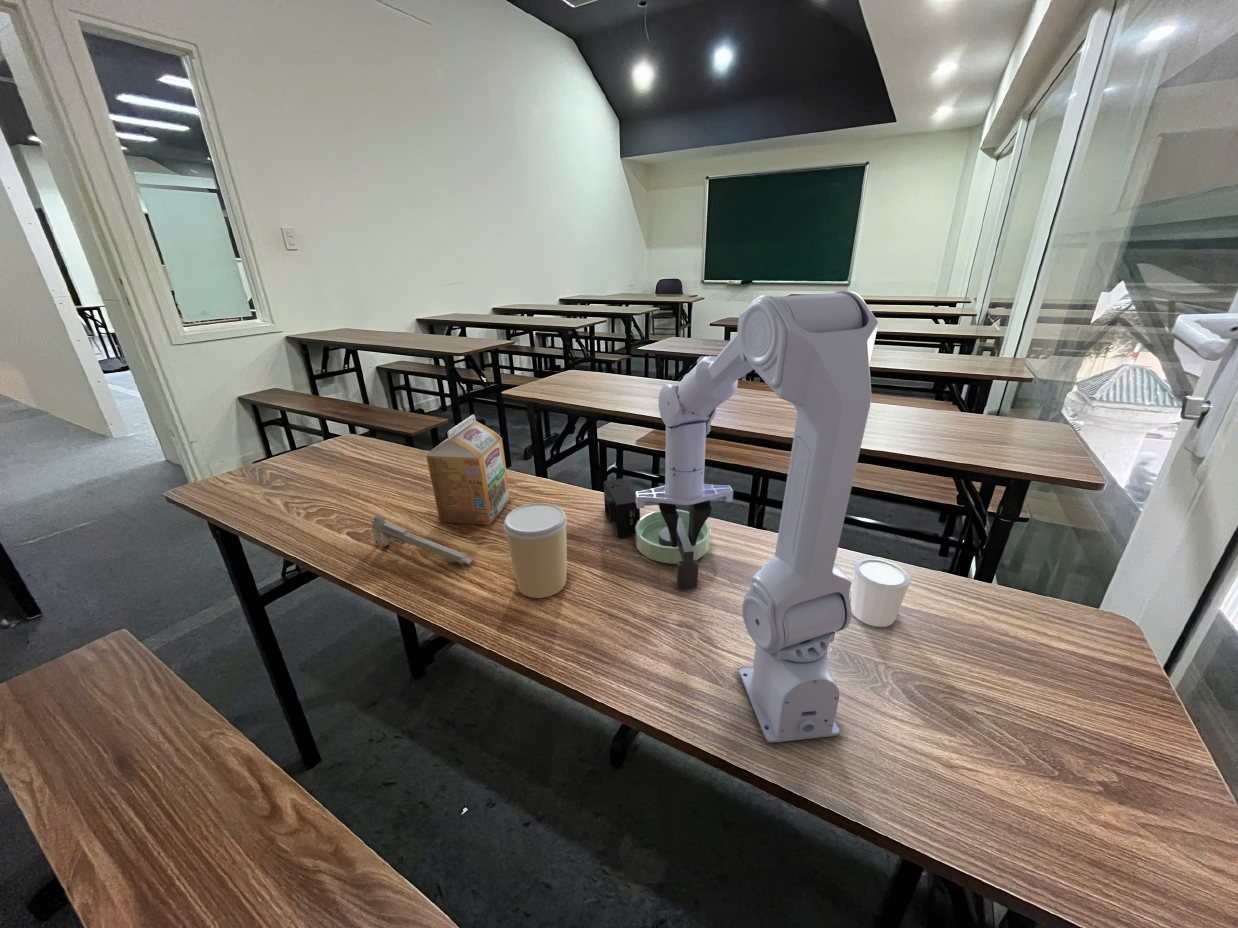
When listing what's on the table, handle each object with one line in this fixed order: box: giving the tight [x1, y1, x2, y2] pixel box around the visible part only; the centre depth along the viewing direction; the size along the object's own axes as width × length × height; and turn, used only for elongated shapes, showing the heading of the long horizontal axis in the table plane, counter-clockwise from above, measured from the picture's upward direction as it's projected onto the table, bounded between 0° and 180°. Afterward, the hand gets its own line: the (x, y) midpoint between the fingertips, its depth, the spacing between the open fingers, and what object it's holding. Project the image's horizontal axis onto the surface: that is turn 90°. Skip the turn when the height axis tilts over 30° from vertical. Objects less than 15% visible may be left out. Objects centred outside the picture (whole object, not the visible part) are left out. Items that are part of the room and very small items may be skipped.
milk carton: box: [425, 414, 511, 526], centre depth 95 cm, size 11×11×19 cm
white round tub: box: [850, 557, 911, 628], centre depth 66 cm, size 7×7×7 cm
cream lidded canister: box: [503, 502, 568, 599], centre depth 74 cm, size 9×9×12 cm
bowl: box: [634, 509, 712, 565], centre depth 84 cm, size 13×13×4 cm
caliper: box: [371, 513, 473, 565], centre depth 83 cm, size 20×1×6 cm, turn 70°
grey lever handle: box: [659, 516, 699, 590], centre depth 79 cm, size 15×5×7 cm, turn 5°
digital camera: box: [603, 478, 641, 539], centre depth 91 cm, size 10×5×7 cm, turn 15°
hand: (682, 543), depth 76 cm, fingers closed
